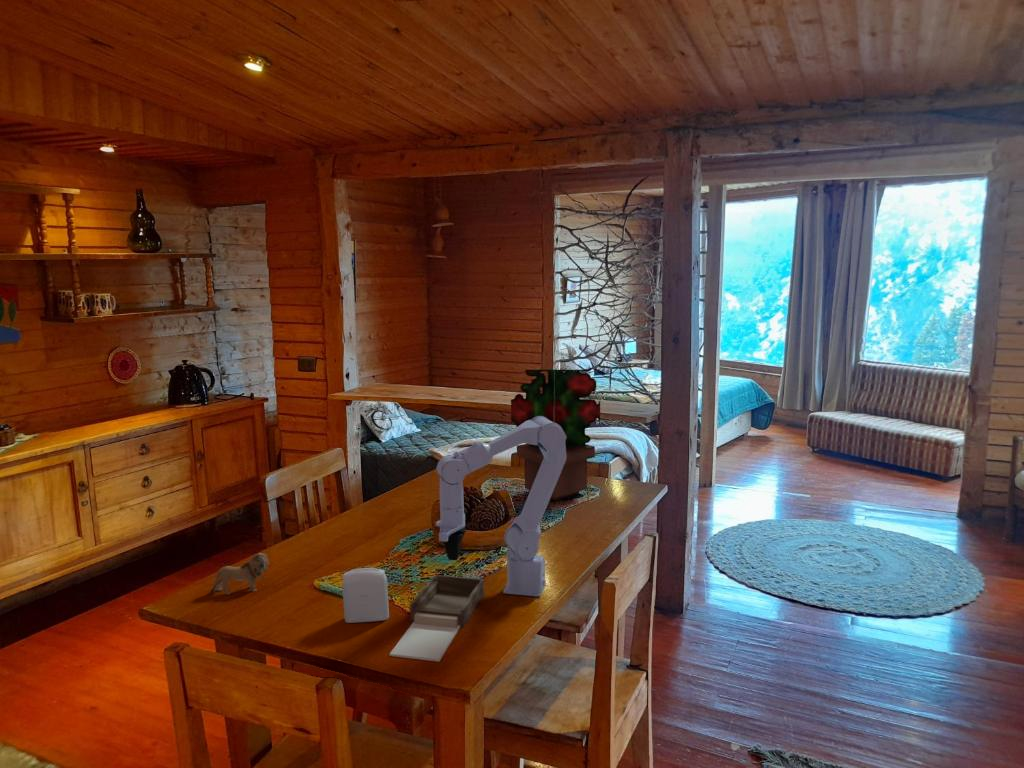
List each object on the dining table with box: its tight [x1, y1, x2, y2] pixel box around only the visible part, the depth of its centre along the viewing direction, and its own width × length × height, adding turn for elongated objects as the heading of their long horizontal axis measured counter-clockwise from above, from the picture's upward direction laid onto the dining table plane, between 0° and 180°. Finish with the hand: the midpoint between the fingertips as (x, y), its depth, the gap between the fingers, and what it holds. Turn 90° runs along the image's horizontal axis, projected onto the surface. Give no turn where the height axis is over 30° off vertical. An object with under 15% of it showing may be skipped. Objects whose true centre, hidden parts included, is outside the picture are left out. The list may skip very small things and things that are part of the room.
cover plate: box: [389, 612, 461, 662], centre depth 160 cm, size 15×11×3 cm
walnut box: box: [409, 574, 485, 628], centre depth 175 cm, size 17×13×4 cm
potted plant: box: [510, 367, 601, 502], centre depth 257 cm, size 22×22×45 cm
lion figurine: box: [208, 552, 270, 596], centre depth 186 cm, size 15×5×9 cm, turn 111°
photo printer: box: [341, 567, 390, 624], centre depth 169 cm, size 10×4×12 cm, turn 96°
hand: (453, 559), depth 178 cm, fingers closed
